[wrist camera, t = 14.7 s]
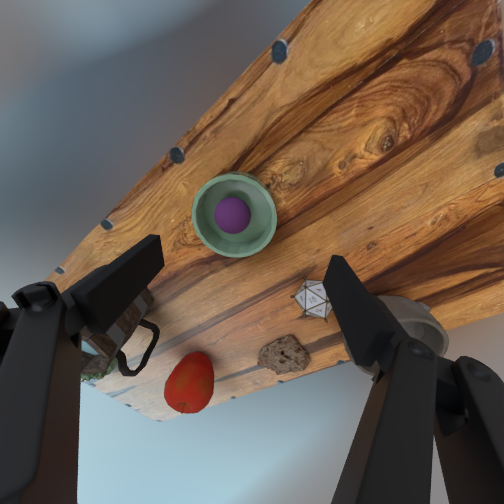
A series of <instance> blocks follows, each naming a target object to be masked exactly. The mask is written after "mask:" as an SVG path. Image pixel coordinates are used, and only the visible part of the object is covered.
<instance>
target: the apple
mask: <svg viewBox="0 0 504 504" xmlns="http://www.w3.org/2000/svg"><path fill="white" fill-rule="evenodd" d="M213 389H214V370H213V366H212V362H211V361H210V360H209V358H208V357H207V356H206V355H205V354H203V353H201V352H195V353H190V354H188V355H186V356H185V357H184V358H183V359H182V360H181V361H180V362H179V363H178V364H177V366H176V367H175V368H174V370H173V371H172V373H171V374H170V376H169V378H168V379H167V381H166V383H165V389H164V397H165V400H166V402H167V404H168V405H169V406H170V407H171V408H173V409H174V410H176V411H178V412H181V413H197V412H199V411H201V410H202V409H203V408H205V407H206V406H207V404H208V403H209V401H210V399H211V397H212V395H213Z"/></svg>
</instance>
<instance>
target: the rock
mask: <svg viewBox="0 0 504 504" xmlns="http://www.w3.org/2000/svg"><path fill="white" fill-rule="evenodd" d="M310 361H311V359H310V357H309V355H308V354H306V350H303V348H302V347H301V345H300V344H299V343H298V342H297V340H296V338H295V337H293V336H291V335H288V336H285V338H284V339H281V340H279V341H278V340H276V341H275V342H274V343H272V344H270V345H267V346H265V347H263V348H262V352H261V353H260V354H259V361H258V362H257V364H258V365H259V366H264V367H267V369H271V370H273V371H275V372H276V374H277V375H280V374H286V373H288V372H290V371H291V372H295V371H298V370H301V371H302V370H304V369H305V368H306V366H307V365H308V364H309V362H310Z"/></svg>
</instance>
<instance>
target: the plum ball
mask: <svg viewBox="0 0 504 504" xmlns="http://www.w3.org/2000/svg"><path fill="white" fill-rule="evenodd" d="M214 219H215V222H216V224H217V226H218V227H219V228H220V229H221V230H222V231H224V232H226V233H229V234H237V233H240V232H242V231H244V230H245V229H246V228H247V226H248V225H249V223H250V219H251V212H250V209H249V207H248V205H247V204H246V202H244V201H243V200H242V199H240V198H237V197H227V198H224V199H223V200H221V201H220V202H219V203H218V204H217V206H216V208H215V212H214Z"/></svg>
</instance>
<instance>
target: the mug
mask: <svg viewBox="0 0 504 504" xmlns="http://www.w3.org/2000/svg"><path fill="white" fill-rule="evenodd" d="M153 300H154V298H153V296H152V295H151V293H150V292H149V290H148V289H147V288H146V287H145V289H144V290H143V291H142V292H141V293H140V294H139V295H138V297H137V298H136V299H135V300H134V301H133V302H132V303H131V305H130V306H129V307H128V308H127V309H126V310H125V311H124V313H123V314H122V315H121V316H120V317H119V318H118V319H117V321H116V322H115V323H114V324H113V325H112V326H111V327H110V329H109V330H108V331H107V332H106V333H105V334H104V335H102V334H94V333H90V332H89V330H88V328H87V326H85V327H84V328H82V329H81V330H80V332H81V334H82V352H81V374H83V375H86V374H94V373H102V372H106V371H107V369H108V367H109V365H110V364H111V362H112V360H113V359H114V357H115V358H117V360H118V367H119V371H120V372H121V373H122V375H123V376H136V375H137V374H138V373H139V372H140V371H141V370H142V369H143V368H144V367H145V366H146V364H147V362H148V359H149V357H150V355H151V353H152V351H153V349H154V347H155V345H156V343H157V341H158V339H159V334H160V330H159V328H158V326H157V325H156V324H154V323H151V322H149V321H147V320H144V319H143V318H144V317H145V315H146V314H147V313H148V312H149V311H150V308H151V305H152V303H153ZM138 325H141V326H143V327H145V328H149V329H151V330H152V332H153V333H154V334H153V339H152V341H151V343H150V345H149V347H148V348H147V350H146V352H145V353H144V356H143V358H142V361H141V363H140V365H139V366H138V368H137V369H136V370H130V369H129V368H128V366H127V362H126V356H125V353H123V352H122V351H121V350H120V349H121V348H122V347H123V345H124V344H125V343H126V342H127V341H128V340H129V338H130V337H131V336H132V334H133V332H134V331H135V329H136V327H137V326H138Z"/></svg>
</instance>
